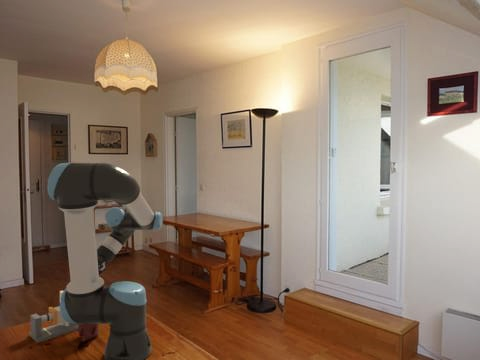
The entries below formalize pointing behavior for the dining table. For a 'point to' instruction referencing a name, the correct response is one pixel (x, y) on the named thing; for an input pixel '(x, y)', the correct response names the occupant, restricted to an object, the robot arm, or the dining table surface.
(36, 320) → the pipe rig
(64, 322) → the sleeve
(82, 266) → the robot arm
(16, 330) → the dining table surface
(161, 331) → the dining table surface
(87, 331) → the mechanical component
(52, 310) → the orange flat plate
